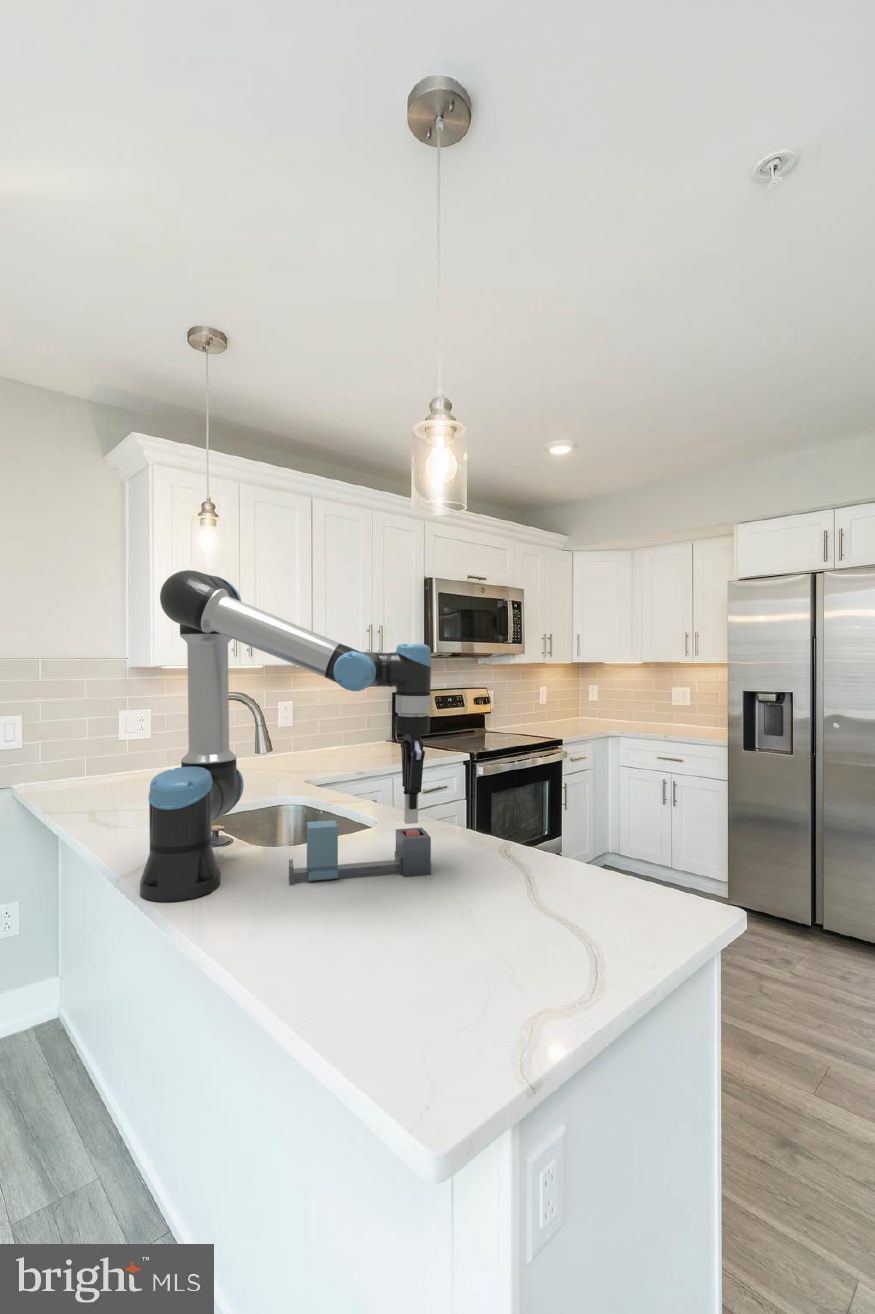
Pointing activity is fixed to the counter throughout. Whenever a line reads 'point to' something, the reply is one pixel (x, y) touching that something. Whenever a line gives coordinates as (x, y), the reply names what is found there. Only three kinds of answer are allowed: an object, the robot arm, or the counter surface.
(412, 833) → the cylinder
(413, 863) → the block
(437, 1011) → the counter surface
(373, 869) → the rail
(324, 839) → the carriage
